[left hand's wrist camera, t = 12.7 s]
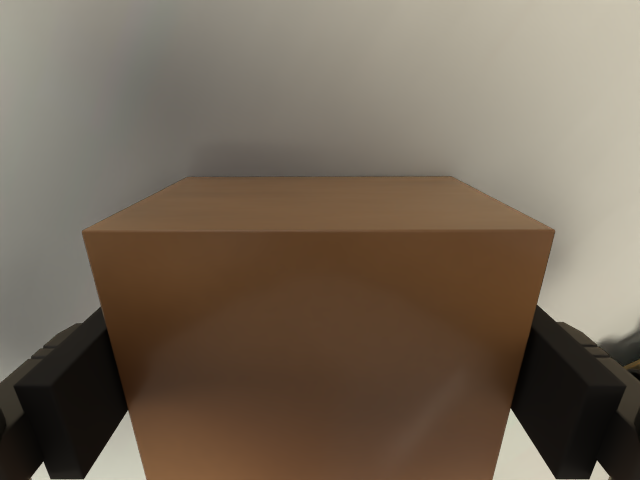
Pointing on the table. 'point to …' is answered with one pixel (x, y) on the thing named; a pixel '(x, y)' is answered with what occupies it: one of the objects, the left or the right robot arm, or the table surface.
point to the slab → (319, 325)
